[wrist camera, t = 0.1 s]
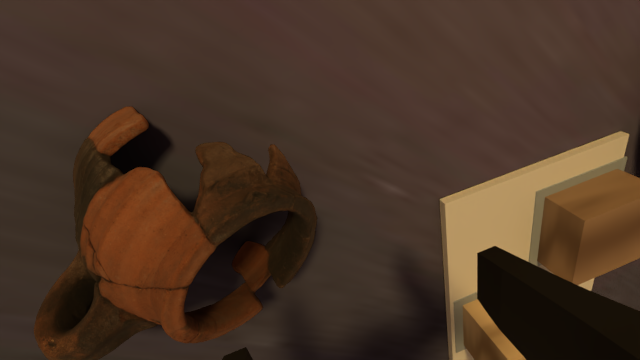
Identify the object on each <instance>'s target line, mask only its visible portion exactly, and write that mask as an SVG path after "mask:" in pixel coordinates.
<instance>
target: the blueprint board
mask: <svg viewBox="0 0 640 360" xmlns="http://www.w3.org/2000/svg"><path fill="white" fill-rule="evenodd" d="M628 138H629V134H627V133H624V132H621V131H620V132H617V133H614V134H612V135H609V136H606V137H604V138H601V139H598V140H596V141H593V142H590V143H588V144H585V145H582V146H580V147H577V148H574V149H572V150H569V151H567V152H564V153H561V154H559V155H556V156H553V157H551V158H548V159H545V160H543V161H540V162H537V163H535V164H532V165H529V166H527V167H524V168H521V169H519V170H516V171H513V172H511V173H508V174H505V175H503V176H500V177H497V178H495V179H492V180H489V181H487V182H484V183H481V184H479V185H476V186H473V187H471V188H468V189H465V190H463V191H460V192H457V193H455V194H452V195H449V196H447V197H444V198H442V199H439V200H440V217H441V233H442V250H443V267H444V283H445V300H446V317H447V333H448V350H449V360H474V358H473V357H472V355H471V354H470V353H469V351H468V350H467V349H466V347H465V346H464V340H463V305H465V304H467V303H469V302H472V301H474V300H476V299H477V253H479V252H481V251H483V250H486V249H488V248H491V247H493V246H497V247H499V248H501V249H503V250H505V251H507V252H509V253H511V254H513V255H515V256H517V257H519V258H521V259H523V260H526V261H528V262H530V263H532V264H534V265H536V266H538V267H540V268H542V269H544V270H546V271H548V272H550V273H552V272H551V271H549V270H548V269H547V268H546V267H544V266H543V265H542V264H541V263H539V262H538V261H537V257H538V249H539V241H540V233H541V225H542V217H543V209H544V201H545V197H546V196H549V195H552V194H554V193H557V192H559V191H562V190H564V189H567V188H569V187H572V186H574V185H577V184H580V183H582V182H585V181H587V180H590V179H592V178H595V177H597V176H600V175H602V174H605V173H608V172H610V171H613V170H615V169H619V170H621V171H624V169H625V165H626V161H627V157H624V154H625V150H626V146H627V142H628ZM552 274H553V273H552ZM593 281H594V278H593V279H591V280H588V281H586V282H584V283H582V284H579V285H578V286H580V287H583V288H585V289H587V290H589V291H591V290H592V285H593Z"/></svg>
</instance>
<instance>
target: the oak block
mask: <svg viewBox="0 0 640 360" xmlns="http://www.w3.org/2000/svg"><path fill="white" fill-rule="evenodd" d="M463 340H464V346H465V347H466V349H467V350H468V351H469V353H470V354H471V355H472V357H473V358H474V359H475V360H526V359H525V357H524V356H523V355H522V354H521V353H520V352H519V351H518V350H517V349H516V348H515V346H514V345H513V344H512V343H511V342H510V341H509V340H508V339H507V338H506V336H505V335H504V334H503V333H502V332H501V331H500V330H499V328H498V327H497V326H496V324H495V323H494V322H493V320H492V319H491V318H490V316H489V315H488V313H487V312H486V311H485V309H484V308H483V306H482V305H481V303H480V302H479V301H478V299H476V300H474V301H472V302H469V303H467V304H465V305H463Z"/></svg>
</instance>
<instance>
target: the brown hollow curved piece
mask: <svg viewBox="0 0 640 360" xmlns="http://www.w3.org/2000/svg"><path fill="white" fill-rule="evenodd" d="M148 127H149V123H148V121H147V120H146V119H145V117H144V116H143V115H142V114H139V113H138V112H137V111H136V110H135V109H134V108H133V107H124V108H123V109H121V110H119V111H117V112H115V113H113V114H111V115H110V116H109V117H107V118H106V119H105V120H104V121H102V122H101V123H100V124H99V125H98V126H97V127H96V128H95V129H94V130H93V131H92V132H91V134H90V135H89V137H88V138H87V139H85V141H84V142H83V144H82V146H81V148H80V150H79V152H78V154H77V156H76V160H75V164H74V170H73V182H74V188H75V207H74V217H75V222H76V228H75V229H76V241H77V243H78V248H79V251H78V253H77V255H76V257H75V258H74V260H73V262H72V263H71V264H70V266H69V267H68V268H67V269H66V271H65V272H64V273H63V274H62V275H61V276H60V277H59V279H58V280H57V281H56V283H55V284H54V285H53V287H52V288H51V289H50V291H49V292H48V294H47V296H46V297H45V299H44V301H43V303H42V305H41V307H40V309H39V312H38V314H37V317H36V322H35V327H34V334H35V338H36V341H37V343H38V346H39V348H40V349H41V350H42V352H43V353H44V355H45V357H46V358H47V359H49V360H98V359H100V358H102V357H103V356H105V355H107V354H108V353H110V352H111V351H113V350H114V349H116V348H117V347H118V346H120V345H121V344H122V343H123V342H125V341H126V340H127V339H129V338H130V337H131V336H133V335H134V334H136V333H138V332H140V331H142V330H145V329H148V328H152V327H155V326H157V325H158V324H160V325H162V327H163V329H164V331H165V332H166V334H168V335H169V336H170V337H171V338H173V339H174V340H176V341H179V342H183V343H198V342H204V341H207V340H210V339H214V338H217V337H219V336H221V335H224V334H226V333H228V332H229V331H231V330H234V329H235V328H237V327H239V326H240V325H242V324H243V323H245V322H246V321H248V320H250V319H251V318H252V317H254V316H255V315H256V314H257V313H258V312H260V311H261V310H262V308H263V306H262V304H261V302H260V301H259V299H258V298H257V297H256V295H255V292H256V290H257V289H259V288H260V287H261V286H262V285H263V284H264V283H265V282H266V280H267V279H268V278H269V277H270V276H271V275H272V277H273V279H274V281H275V283H276V285H277V286H278V287H279V288H283V287H284V286H285V285H286V284H287V283H289V282H290V281H291V280H292V279H293V278H294V276H295V274H296V273H297V272H298V270H299V269H300V267H301V266H302V264H303V262H304V261H305V259H306V257H307V255H308V253H309V251H310V249H311V246H312V244H313V241H314V236H315V228H316V222H317V216H316V213H315V208H314V206H313V204H312V202H311V201H309V200H308V199H307V198H305V197H303V196H301V188H300V183H299V180H298V178H297V176H296V175H295V173H294V172H293V170H292V168H291V166H290V165H289V163H288V162H287V160H286V158H285V156H284V155H283V154H282V153H281V151H280V150H279V149H278V148H277V147H276V146H275V145H270V147H269V150H268V151H269V155H270V163H269V166H268V170H267V174H265V173H264V171H263V170H262V168H261V166H260V165H259V164H257V163H256V162H255V161H254V160H253V159H252V158H250V157H248V156H246V155H243V154H240V153H238V152H236V151H235V150H234V149H233V148H232V147H231V146H230V145H228V144H227V143H224V142H212V143H203V144H200V145H199V146H197V147H196V150H195V151H196V155H197V157H198V160H199V161H200V163H201V165H202V166H203V170H202V172H201V178H200V187H199V195H198V198H197V200H196V204H195V208H194V211H193V212H190V211H189V210H187V209H186V207H185V206H184V205H183V204H182V203H181V202H180V201H179V200H178V198H177V197H176V196H175V195H174V193H173V192H172V191H171V189H170V188H169V187H168V185H167V183H166V181H165V179H164V177H163V176H162V174H161V173H159V172H158V171H154V170H152V169H150V168H147V167H137V168H134V169H133V170H131V171H129V172H127V173H126V174H123V173H122V171H121V170H119V169H118V168H116V167H115V166H113V165H112V164H111V159H110V158H111V156H112V155H113V154H114V153H116V152H117V151H118V150H119V149H120V148H121V147H122V146H124V145H125V144H126V143H128V142H129V141H130V140H132V139H134V138H135V137H136V136H138V135H140V134H141V133H143V132H144V131H146V130H147V129H148ZM286 210H288V211H289V212H288V216H287V219H286V222H285V224H284V226H283V227H282V229H281V230H280V231H279V232H278V233H277V234H276V235H275V236H274V237H273V238H272V240H271V241H269V242H268V243H267V245H266V246H264V245H262V244H259V243H254V242H252V241H246V242H245V243H244V244H243V245H242V247H241V248H240V250H239V251H238V252H237V254H236V256H235V257H234V259H233V262H232V267H233V269H234V270H235V271H236V272H237V273H240V274H241V275H242V276H243V278H244V280H245V281H246V282H245V283H243V284H242V285H241V286H240V287H239V288H238V289H236V290H235V291H233V292H232V293H231V294H229V295H227V296H226V297H225V298H223V299H222V300H220V301H218V302H216V303H215V304H213V305H209V306H206V307H203V308H201V309H198V310H195V311H191V312H186V313H184V303H185V299H186V295H187V292H188V288H189V285H190V284H191V283H192V281H193V280H194V278H195V276H196V274H197V272H198V271H199V270H200V268H201V267H202V266H203V264H204V263H205V262H206V260H207V259H208V258H209V256H210V255H211V254H212V253H213V252H214V251H215V249H216V247H217V246H218V245H219V244H220V243H222V242H224V241H225V240H226V239H227V238H229V237H230V236H232V235H233V234H234V233H235V232H237V231H238V230H239V229H240V228H242V227H243V226H245V225H246V224H248V223H250V222H252V221H254V220H256V219H258V218H260V217H263V216H265V215H268V214H270V213H273V212H277V211H286Z"/></svg>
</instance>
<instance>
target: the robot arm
mask: <svg viewBox="0 0 640 360" xmlns="http://www.w3.org/2000/svg"><path fill="white" fill-rule="evenodd" d="M477 299H478V301H479V302H480V303H481V305H482V306H483V308H484V309H485V311H486V312H487V313H488V315H489V316H490V318H491V319H492V320H493V322H494V323H495V324H496V326H497V327H498V328H499V330H500V331H501V332H502V333H503V334H504V335H505V336H506V338H507V339H508V340H509V341H510V342H511V343H512V344H513V345H514V346H515V348H516V349H517V350H518V351H519V352H520V353H521V354H522V355H523V356H524V357H525V359H526V360H640V311H638V310H635V309H633V308H630V307H628V306H625V305H623V304H620V303H618V302H615V301H613V300H611V299H608V298H606V297H603V296H601V295H599V294H596V293H594V292H592V291H589V290H587V289H585V288H583V287H580V286H578V285H576V284H574V283H572V282H570V281H567V280H565V279H563V278H561V277H559V276H557V275H555V274H552V273H550V272H548V271H546V270H544V269H542V268H540V267H538V266H536V265H534V264H532V263H530V262H528V261H526V260H523V259H521V258H519V257H517V256H515V255H513V254H511V253H509V252H507V251H505V250H503V249H501V248H499V247H497V246H493V247H491V248H488V249H486V250H483V251H481V252H479V253H477ZM222 360H253V359H252V357H251V356H250V354H249V352H248V350H247V348H246V347H245V348H243V349H240V350H238V351H235V352H233V353H231V354H228V355H226V356H224V357H223V359H222Z"/></svg>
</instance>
